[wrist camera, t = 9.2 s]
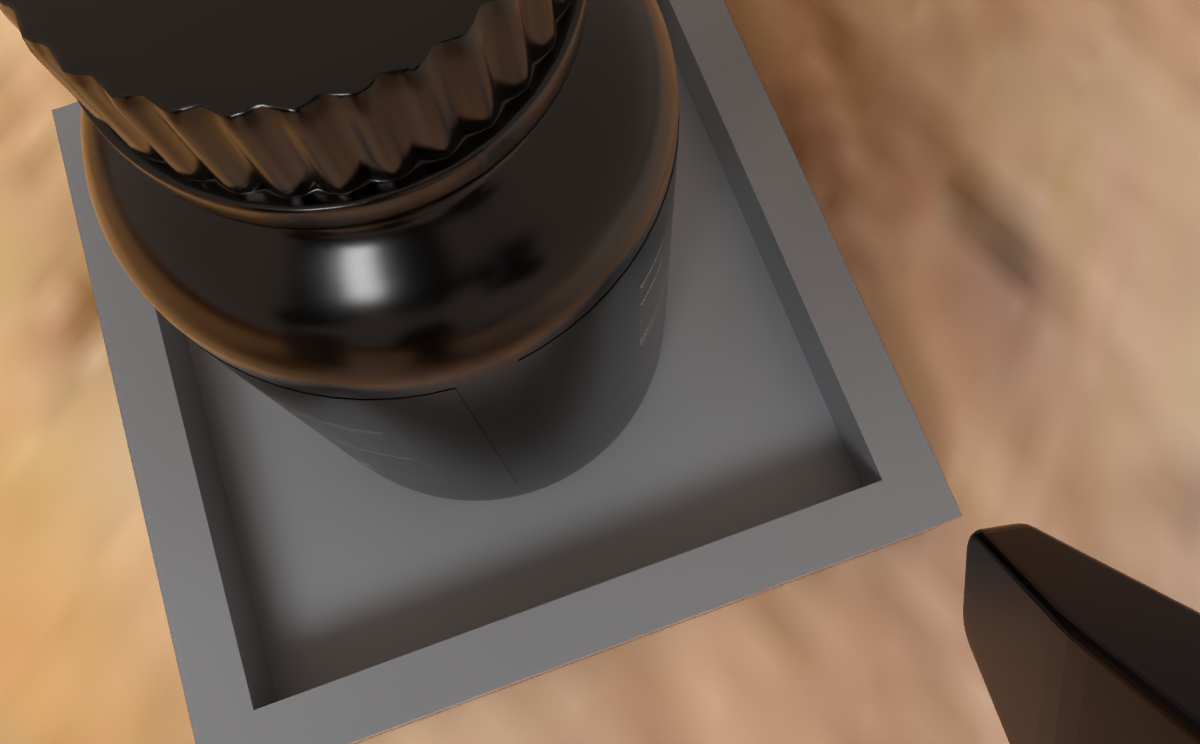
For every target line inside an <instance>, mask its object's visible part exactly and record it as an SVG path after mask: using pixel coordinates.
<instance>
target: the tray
mask: <svg viewBox="0 0 1200 744" xmlns="http://www.w3.org/2000/svg"><path fill="white" fill-rule="evenodd" d="M656 1H657V3H658V6H659V8H660V10H661V13H662V15H663V18H664V20H665V23H666V27H667V30H668V33H669V37H670V40H671V44H672V47H673V53H674V59H675V64H676V70H677V83H678V99H679V135H678V154H677V168H676V181H675V194H674V207H673V221H672V234H671V247H670V260H669V273H668V286H667V299H666V312H665V323H664V330H663V337H662V344H661V350H660V355H659V359H658V362H657V366H656V370H655V373H654V375H653V378H652V381H651V383H650V386H649V389H648V391H647V393H646V395H645V397H644V399H643V401H642V403H641V405H640V407H639V408H638V410H637V411H636V413H635V415H634V416H633V418H632V419H631V421H630V422H629V423H628V425H627V426H626V427H625V429H624V430H623V431H622V432H621V434H620V435H619V436H618V437H617V438H616V439H615V440H614V441H613V442H612V443H611V444H610V445H609V447H608V448H606V449H605V450H604V451H603V452H602V453H601V454H600V455H598V456H597V457H596V458H595V459H594V460H593V461H591V462H590V463H588V464H587V465H585V466H584V467H583V468H581V469H580V470H578V471H577V472H575V473H573V474H572V475H570V476H568V477H566V478H565V479H563V480H561V481H558V482H556V483H554V484H552V485H550V486H547V487H545V488H542V489H539V490H536V491H534V492H531V493H528V494H523V495H519V496H515V497H511V498H504V499H497V500H483V501H466V500H453V499H447V498H440V497H435V496H431V495H428V494H424V493H420V492H417V491H414V490H412V489H409V488H406V487H404V486H401V485H398V484H396V483H394V482H392V481H390V480H388V479H386V478H384V477H382V476H381V475H379V474H378V473H376V472H375V471H373V470H371V469H370V468H368V467H366V466H365V465H363V464H362V463H360V462H359V461H357V460H356V459H354V458H353V457H351V456H350V455H348V454H347V453H346V452H344V451H343V450H341V449H340V448H339V447H337V446H336V445H334V444H333V443H332V442H330V441H329V440H327V439H326V438H325V437H323V436H322V435H321V434H319V433H318V432H316V431H315V430H314V429H312V428H311V427H309V426H308V425H307V424H305V423H304V422H302V421H301V420H300V419H298V418H297V417H295V416H294V415H293V414H291V413H290V412H288V411H287V410H286V409H284V408H283V407H282V406H280V405H279V404H277V403H276V402H275V401H273V400H272V399H270V398H269V397H268V396H266V395H265V394H263V393H262V392H261V391H259V390H258V389H256V388H255V387H254V386H252V385H251V384H249V383H248V382H247V381H245V380H244V379H243V378H241V377H240V376H238V375H237V374H236V373H234V372H233V371H231V370H230V369H229V368H227V367H226V366H224V365H223V364H222V363H220V362H219V361H218V360H216V359H215V358H213V357H212V356H211V355H209V354H208V353H207V352H205V351H204V350H203V349H201V348H200V347H199V346H198V345H196V344H195V343H194V342H193V341H191V340H190V339H189V338H188V337H186V336H185V335H184V334H183V333H181V332H180V331H179V330H178V329H177V328H176V327H175V326H173V325H172V324H171V323H170V322H169V321H168V320H167V319H166V318H165V317H164V316H163V315H162V314H161V313H160V312H159V311H158V310H157V309H156V308H155V307H154V306H153V305H152V304H151V303H150V302H149V301H148V300H147V299H146V298H145V297H144V296H143V295H142V294H141V292H140V291H139V290H138V289H137V287H136V286H135V285H134V284H133V282H132V281H131V280H130V279H129V277H128V276H127V275H126V273H125V271H124V270H123V268H122V266H121V265H120V263H119V262H118V260H117V258H116V257H115V255H114V254H113V252H112V250H111V248H110V246H109V244H108V242H107V240H106V238H105V236H104V233H103V231H102V229H101V227H100V225H99V223H98V220H97V217H96V214H95V211H94V208H93V205H92V202H91V199H90V195H89V191H88V186H87V182H86V177H85V172H84V167H83V158H82V147H81V137H80V120H81V106H80V104H79V102H77V103H73V104H70V105H67V106H64V107H61V108H57V109H54V110H52V113H53V117H54V121H55V126H56V130H57V135H58V139H59V143H60V148H61V152H62V157H63V161H64V165H65V170H66V174H67V179H68V183H69V188H70V192H71V196H72V201H73V205H74V210H75V214H76V218H77V223H78V227H79V232H80V236H81V240H82V245H83V249H84V254H85V258H86V262H87V267H88V271H89V276H90V280H91V284H92V289H93V293H94V298H95V302H96V307H97V311H98V315H99V320H100V324H101V329H102V333H103V337H104V342H105V346H106V351H107V355H108V359H109V364H110V368H111V373H112V377H113V381H114V386H115V390H116V395H117V399H118V404H119V408H120V412H121V417H122V421H123V426H124V430H125V434H126V439H127V443H128V448H129V452H130V456H131V461H132V465H133V470H134V474H135V478H136V483H137V487H138V492H139V496H140V501H141V505H142V509H143V514H144V518H145V523H146V527H147V531H148V536H149V540H150V545H151V549H152V553H153V558H154V562H155V567H156V571H157V575H158V580H159V584H160V589H161V593H162V597H163V602H164V606H165V611H166V615H167V620H168V624H169V628H170V633H171V637H172V642H173V646H174V650H175V655H176V659H177V664H178V668H179V672H180V677H181V681H182V686H183V690H184V694H185V699H186V703H187V708H188V712H189V717H190V721H191V725H192V730H193V734H194V739H195V743H196V744H356V743H358V742H361V741H364V740H367V739H369V738H372V737H375V736H377V735H380V734H383V733H385V732H388V731H391V730H393V729H396V728H399V727H402V726H404V725H407V724H410V723H412V722H415V721H418V720H420V719H423V718H426V717H428V716H431V715H434V714H437V713H439V712H442V711H445V710H447V709H450V708H453V707H455V706H458V705H461V704H463V703H466V702H469V701H472V700H474V699H477V698H480V697H482V696H485V695H488V694H490V693H493V692H496V691H498V690H501V689H504V688H506V687H509V686H512V685H515V684H517V683H520V682H523V681H525V680H528V679H531V678H533V677H536V676H539V675H541V674H544V673H547V672H550V671H552V670H555V669H558V668H560V667H563V666H566V665H568V664H571V663H574V662H576V661H579V660H582V659H585V658H587V657H590V656H593V655H595V654H598V653H601V652H603V651H606V650H609V649H611V648H614V647H617V646H620V645H622V644H625V643H628V642H630V641H633V640H636V639H638V638H641V637H644V636H646V635H649V634H652V633H654V632H657V631H660V630H663V629H665V628H668V627H671V626H673V625H676V624H679V623H681V622H684V621H687V620H689V619H692V618H695V617H698V616H700V615H703V614H706V613H708V612H711V611H714V610H716V609H719V608H722V607H724V606H727V605H730V604H733V603H735V602H738V601H741V600H743V599H746V598H749V597H751V596H754V595H757V594H759V593H762V592H765V591H768V590H770V589H773V588H776V587H778V586H781V585H784V584H786V583H789V582H792V581H794V580H797V579H800V578H803V577H805V576H808V575H811V574H813V573H816V572H819V571H821V570H824V569H827V568H829V567H832V566H835V565H837V564H840V563H843V562H846V561H848V560H851V559H854V558H856V557H859V556H862V555H864V554H867V553H870V552H872V551H875V550H878V549H881V548H883V547H886V546H889V545H891V544H894V543H897V542H899V541H902V540H905V539H907V538H910V537H913V536H916V535H918V534H921V533H924V532H926V531H929V530H931V529H934V528H936V527H938V526H940V525H942V524H945V523H947V522H949V521H951V520H953V519H956V518H958V517H960V516H962V514H961V512H960V510H959V508H958V506H957V504H956V501H955V499H954V497H953V495H952V493H951V491H950V488H949V486H948V484H947V482H946V480H945V478H944V475H943V473H942V471H941V469H940V467H939V465H938V462H937V460H936V458H935V456H934V454H933V452H932V449H931V447H930V445H929V443H928V441H927V439H926V436H925V434H924V432H923V430H922V428H921V426H920V424H919V421H918V419H917V417H916V415H915V413H914V411H913V408H912V406H911V404H910V402H909V400H908V398H907V395H906V393H905V391H904V389H903V387H902V385H901V382H900V380H899V378H898V376H897V374H896V372H895V369H894V367H893V365H892V363H891V361H890V359H889V357H888V354H887V352H886V350H885V348H884V346H883V344H882V341H881V339H880V337H879V335H878V333H877V331H876V328H875V326H874V324H873V322H872V320H871V318H870V315H869V313H868V311H867V309H866V307H865V305H864V302H863V300H862V298H861V296H860V294H859V292H858V289H857V287H856V285H855V283H854V281H853V279H852V277H851V274H850V272H849V270H848V268H847V266H846V264H845V261H844V259H843V257H842V255H841V253H840V251H839V248H838V246H837V244H836V242H835V240H834V238H833V235H832V233H831V231H830V229H829V227H828V225H827V222H826V220H825V218H824V216H823V214H822V212H821V209H820V207H819V205H818V203H817V201H816V199H815V197H814V194H813V192H812V190H811V188H810V186H809V184H808V181H807V179H806V177H805V175H804V173H803V171H802V168H801V166H800V164H799V162H798V160H797V158H796V155H795V153H794V151H793V149H792V147H791V145H790V142H789V140H788V138H787V136H786V134H785V132H784V130H783V127H782V125H781V123H780V121H779V119H778V117H777V114H776V112H775V110H774V108H773V106H772V104H771V101H770V99H769V97H768V95H767V93H766V91H765V88H764V86H763V84H762V82H761V80H760V78H759V75H758V73H757V71H756V69H755V67H754V65H753V62H752V60H751V58H750V56H749V54H748V52H747V50H746V47H745V45H744V43H743V41H742V39H741V37H740V34H739V32H738V30H737V28H736V26H735V24H734V21H733V19H732V17H731V15H730V13H729V11H728V8H727V6H726V4H725V2H724V0H656Z"/></svg>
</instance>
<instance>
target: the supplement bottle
mask: <svg viewBox="0 0 1200 744" xmlns="http://www.w3.org/2000/svg"><path fill="white" fill-rule="evenodd" d="M0 9H1V11H2V12H3V13H4V14H5V16H6V17H7V18H8V19H9V20H10V21H11V22H12V23H13V24H14V25H15V26H16V27H17V28H18V29H19V30H20V32H21V35H22V38H23V40H24V41H25V43H26V45H27V46H28V48H29V49H30V51H31V52H32V53H33V55H34V56H35V57H36V58H37V59H38V60H39V61H40V62H41V63H42V64H43V65H44V66H45V67H46V68H47V69H48V70H49V71H50V72H51V73H52V74H53V75H54V76H55V77H56V78H57V79H58V80H59V81H60V82H61V83H62V84H63V85H64V86H65V87H66V88H67V89H68V90H69V91H70V92H71V93H72V94H73V95H74V96H75V97H76V99H77V101H78V102H79V104H80V106H81V120H80V137H81V147H82V158H83V167H84V172H85V177H86V182H87V186H88V191H89V195H90V199H91V202H92V205H93V208H94V211H95V214H96V217H97V220H98V223H99V225H100V227H101V229H102V231H103V233H104V236H105V238H106V240H107V242H108V244H109V246H110V248H111V250H112V252H113V254H114V255H115V257H116V258H117V260H118V262H119V263H120V265H121V266H122V268H123V270H124V271H125V273H126V275H127V276H128V277H129V279H130V280H131V281H132V282H133V284H134V285H135V286H136V287H137V289H138V290H139V291H140V292H141V294H142V295H143V296H144V297H145V298H146V299H147V300H148V301H149V302H150V303H151V304H152V305H153V306H154V307H155V308H156V309H157V310H158V311H159V312H160V313H161V314H162V315H163V316H164V317H165V318H166V319H167V320H168V321H169V322H170V323H171V324H172V325H173V326H175V327H176V328H177V329H178V330H179V331H180V332H181V333H183V334H184V335H185V336H186V337H188V338H189V339H190V340H191V341H193V342H194V343H195V344H196V345H198V346H199V347H200V348H201V349H203V350H204V351H205V352H207V353H208V354H209V355H211V356H212V357H213V358H215V359H216V360H218V361H219V362H220V363H222V364H223V365H224V366H226V367H227V368H229V369H230V370H231V371H233V372H234V373H236V374H237V375H238V376H240V377H241V378H243V379H244V380H245V381H247V382H248V383H249V384H251V385H252V386H254V387H255V388H256V389H258V390H259V391H261V392H262V393H263V394H265V395H266V396H268V397H269V398H270V399H272V400H273V401H275V402H276V403H277V404H279V405H280V406H282V407H283V408H284V409H286V410H287V411H288V412H290V413H291V414H293V415H294V416H295V417H297V418H298V419H300V420H301V421H302V422H304V423H305V424H307V425H308V426H309V427H311V428H312V429H314V430H315V431H316V432H318V433H319V434H321V435H322V436H323V437H325V438H326V439H327V440H329V441H330V442H332V443H333V444H334V445H336V446H337V447H339V448H340V449H341V450H343V451H344V452H346V453H347V454H348V455H350V456H351V457H353V458H354V459H356V460H357V461H359V462H360V463H362V464H363V465H365V466H366V467H368V468H370V469H371V470H373V471H375V472H376V473H378V474H379V475H381V476H382V477H384V478H386V479H388V480H390V481H392V482H394V483H396V484H398V485H401V486H404V487H406V488H409V489H412V490H414V491H417V492H420V493H424V494H428V495H431V496H435V497H440V498H447V499H453V500H466V501H483V500H497V499H504V498H511V497H515V496H519V495H523V494H528V493H531V492H534V491H536V490H539V489H542V488H545V487H547V486H550V485H552V484H554V483H556V482H558V481H561V480H563V479H565V478H566V477H568V476H570V475H572V474H573V473H575V472H577V471H578V470H580V469H581V468H583V467H584V466H585V465H587V464H588V463H590V462H591V461H593V460H594V459H595V458H596V457H597V456H598V455H600V454H601V453H602V452H603V451H604V450H605V449H606V448H608V447H609V445H610V444H611V443H612V442H613V441H614V440H615V439H616V438H617V437H618V436H619V435H620V434H621V432H622V431H623V430H624V429H625V427H626V426H627V425H628V423H629V422H630V421H631V419H632V418H633V416H634V415H635V413H636V411H637V410H638V408H639V407H640V405H641V403H642V401H643V399H644V397H645V395H646V393H647V391H648V389H649V386H650V383H651V381H652V378H653V375H654V373H655V370H656V366H657V362H658V359H659V355H660V350H661V344H662V337H663V330H664V323H665V312H666V299H667V286H668V273H669V260H670V247H671V234H672V221H673V207H674V194H675V181H676V168H677V154H678V135H679V99H678V83H677V70H676V64H675V59H674V53H673V47H672V44H671V40H670V37H669V33H668V30H667V27H666V23H665V20H664V18H663V15H662V13H661V10H660V8H659V6H658V3H657V1H656V0H0Z"/></svg>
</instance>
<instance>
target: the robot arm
mask: <svg viewBox="0 0 1200 744" xmlns="http://www.w3.org/2000/svg"><path fill="white" fill-rule="evenodd" d="M963 619H964V626H965V632H966V635H967V639H968V642H969V645H970V647H971V650H972V652H973V655H974V657H975V660H976V662H977V665H978V667H979V670H980V672H981V674H982V677H983V679H984V682H985V684H986V687H987V689H988V692H989V694H990V697H991V699H992V701H993V704H994V706H995V709H996V711H997V714H998V716H999V719H1000V721H1001V724H1002V726H1003V728H1004V731H1005V733H1006V736H1007V738H1008V741H1009V743H1010V744H1200V613H1199V612H1197V611H1195V610H1193V609H1191V608H1189V607H1187V606H1186V605H1184V604H1182V603H1180V602H1178V601H1176V600H1174V599H1172V598H1170V597H1168V596H1166V595H1164V594H1162V593H1160V592H1158V591H1157V590H1155V589H1153V588H1151V587H1149V586H1147V585H1145V584H1143V583H1141V582H1139V581H1137V580H1135V579H1133V578H1131V577H1129V576H1128V575H1126V574H1124V573H1122V572H1120V571H1118V570H1116V569H1114V568H1112V567H1110V566H1108V565H1106V564H1104V563H1102V562H1100V561H1099V560H1097V559H1095V558H1093V557H1091V556H1089V555H1087V554H1085V553H1083V552H1081V551H1079V550H1077V549H1075V548H1073V547H1071V546H1069V545H1068V544H1066V543H1064V542H1062V541H1060V540H1058V539H1056V538H1054V537H1052V536H1050V535H1048V534H1046V533H1044V532H1042V531H1040V530H1039V529H1037V528H1035V527H1032V526H1030V525H1027V524H1011V525H1004V526H998V527H991V528H985V529H979V530H977V531H976V532H974V533H973V534H972V535H971V536H970V539H969V541H968V546H967V556H966V572H965V588H964V604H963Z"/></svg>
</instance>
